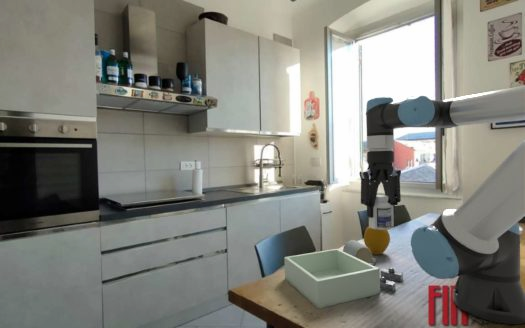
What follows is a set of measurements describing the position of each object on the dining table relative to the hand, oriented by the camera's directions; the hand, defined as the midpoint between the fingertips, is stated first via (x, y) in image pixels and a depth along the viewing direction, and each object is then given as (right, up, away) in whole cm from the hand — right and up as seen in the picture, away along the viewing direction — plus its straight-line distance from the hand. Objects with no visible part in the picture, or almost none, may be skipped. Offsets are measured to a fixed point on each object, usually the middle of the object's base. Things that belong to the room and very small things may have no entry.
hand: (381, 226), depth 87 cm
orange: (+9, -17, +26) cm, 32 cm away
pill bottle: (0, -1, 0) cm, 1 cm away
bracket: (+2, -17, 0) cm, 17 cm away
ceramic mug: (0, -17, +17) cm, 24 cm away
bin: (-16, -18, -1) cm, 24 cm away
